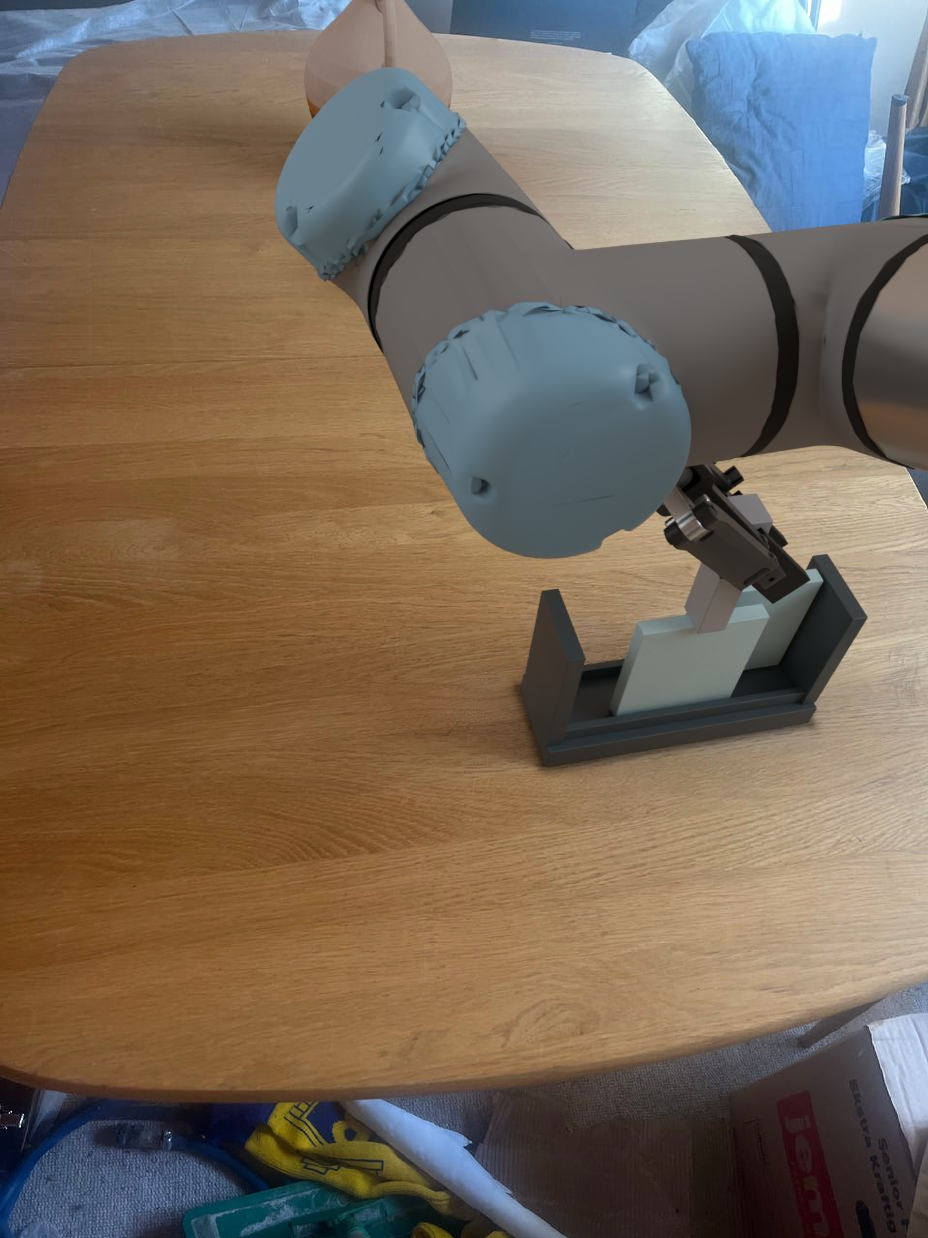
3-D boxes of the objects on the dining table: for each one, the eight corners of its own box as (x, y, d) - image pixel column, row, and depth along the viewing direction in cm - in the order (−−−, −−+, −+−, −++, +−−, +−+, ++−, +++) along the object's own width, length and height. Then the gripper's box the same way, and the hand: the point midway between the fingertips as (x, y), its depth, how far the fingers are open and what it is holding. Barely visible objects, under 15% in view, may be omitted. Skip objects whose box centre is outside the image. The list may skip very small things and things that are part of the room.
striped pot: (461, 213, 119) (482, -76, 96) (316, 216, 116) (302, -81, 93) (435, 140, 131) (447, -131, 108) (303, 142, 128) (287, -137, 105)
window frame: (809, 723, 73) (872, 623, 64) (544, 767, 69) (570, 667, 60) (770, 651, 77) (824, 548, 68) (518, 689, 73) (539, 584, 64)
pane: (731, 707, 71) (829, 514, 56) (617, 726, 69) (685, 531, 54) (719, 681, 72) (810, 486, 57) (606, 698, 70) (670, 502, 55)
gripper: (471, 328, 51) (683, 519, 67) (556, 535, 41) (779, 699, 58) (582, 228, 48) (776, 453, 64) (701, 426, 38) (894, 631, 55)
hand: (777, 569), depth 61 cm, fingers closed on pane, 2 cm apart
